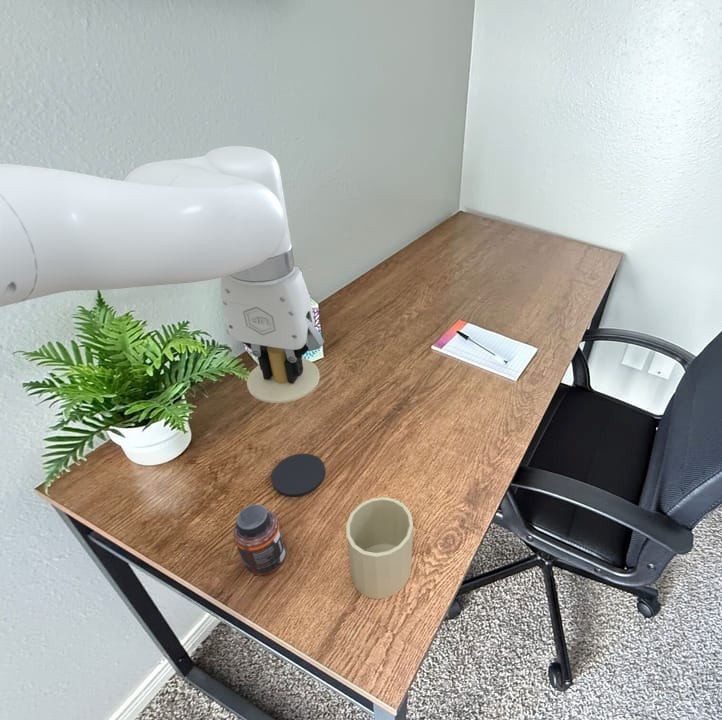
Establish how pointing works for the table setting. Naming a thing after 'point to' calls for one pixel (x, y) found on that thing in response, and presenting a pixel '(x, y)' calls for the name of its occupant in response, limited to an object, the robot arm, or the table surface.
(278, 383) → the tin lid
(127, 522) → the table surface
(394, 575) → the tin
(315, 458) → the mat
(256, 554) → the supplement bottle
